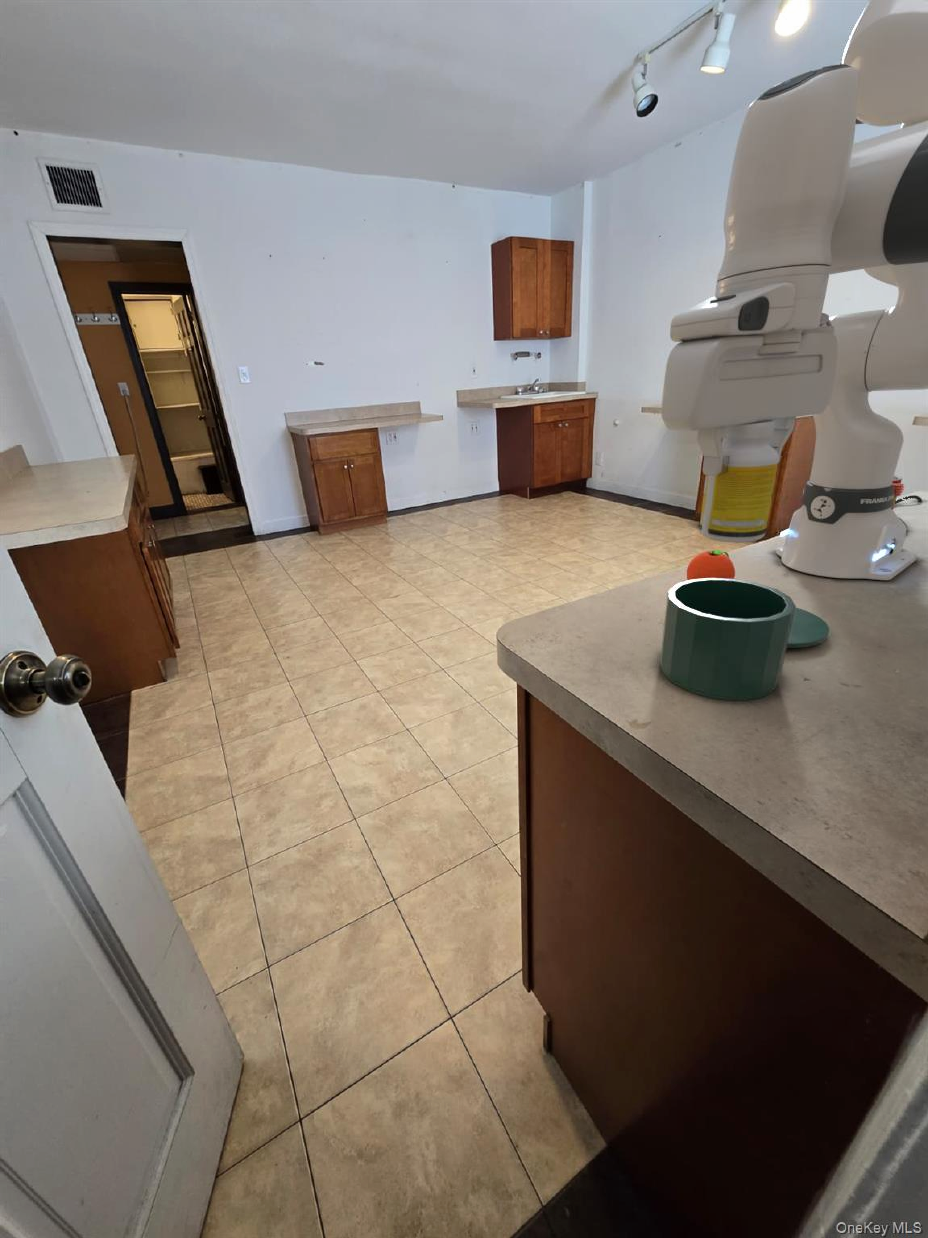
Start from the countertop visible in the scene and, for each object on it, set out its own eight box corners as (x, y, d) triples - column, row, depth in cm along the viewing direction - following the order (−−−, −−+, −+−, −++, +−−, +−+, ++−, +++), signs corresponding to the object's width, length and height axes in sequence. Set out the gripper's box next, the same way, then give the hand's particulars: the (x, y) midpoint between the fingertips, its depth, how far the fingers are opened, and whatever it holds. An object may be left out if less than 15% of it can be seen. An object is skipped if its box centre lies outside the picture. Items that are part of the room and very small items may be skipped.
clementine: (705, 581, 87) (711, 540, 84) (744, 592, 82) (752, 549, 79) (674, 593, 83) (679, 550, 80) (713, 605, 78) (720, 561, 75)
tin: (709, 637, 69) (719, 571, 65) (802, 679, 58) (821, 602, 54) (638, 663, 64) (644, 592, 60) (725, 713, 54) (740, 632, 50)
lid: (755, 601, 78) (761, 572, 76) (850, 634, 67) (859, 601, 65) (691, 622, 73) (695, 592, 71) (782, 662, 62) (790, 627, 60)
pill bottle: (773, 544, 52) (797, 422, 47) (705, 545, 53) (721, 426, 48) (754, 527, 58) (773, 417, 53) (692, 528, 59) (706, 421, 54)
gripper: (803, 316, 53) (778, 454, 59) (656, 320, 45) (644, 478, 51) (870, 307, 48) (835, 459, 54) (717, 309, 40) (695, 487, 46)
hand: (740, 469), depth 52 cm, fingers closed on pill bottle, 6 cm apart
